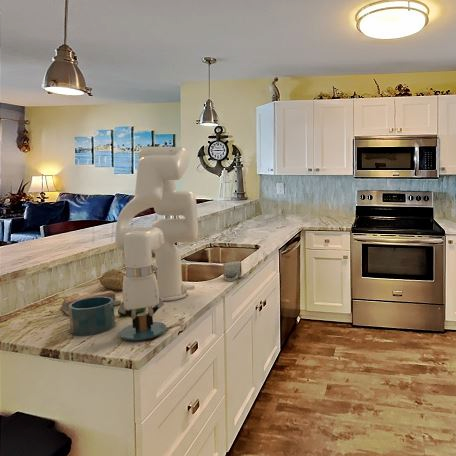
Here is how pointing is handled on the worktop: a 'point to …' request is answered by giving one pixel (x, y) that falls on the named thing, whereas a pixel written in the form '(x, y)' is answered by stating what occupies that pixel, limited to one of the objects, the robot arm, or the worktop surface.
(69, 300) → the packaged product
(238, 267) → the ceramic mug
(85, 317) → the crock
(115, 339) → the worktop surface
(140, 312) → the cucumber
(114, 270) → the brown rounded lump
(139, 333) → the crock lid
